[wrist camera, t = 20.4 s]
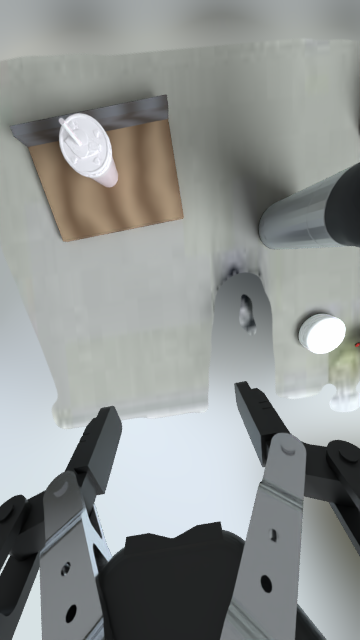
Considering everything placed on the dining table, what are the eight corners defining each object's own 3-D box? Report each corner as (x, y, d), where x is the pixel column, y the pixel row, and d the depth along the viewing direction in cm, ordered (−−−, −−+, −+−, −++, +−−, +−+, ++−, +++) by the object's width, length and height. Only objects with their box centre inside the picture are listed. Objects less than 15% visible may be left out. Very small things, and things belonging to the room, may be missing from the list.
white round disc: (328, 347, 50) (340, 353, 47) (293, 348, 50) (302, 355, 46) (339, 312, 47) (352, 316, 44) (302, 313, 46) (312, 317, 43)
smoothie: (88, 149, 31) (30, 73, 18) (126, 156, 32) (97, 88, 19) (89, 192, 33) (39, 153, 20) (125, 198, 34) (98, 164, 21)
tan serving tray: (166, 113, 32) (166, 91, 27) (183, 218, 37) (185, 213, 33) (30, 141, 32) (8, 123, 27) (67, 241, 37) (54, 240, 33)
